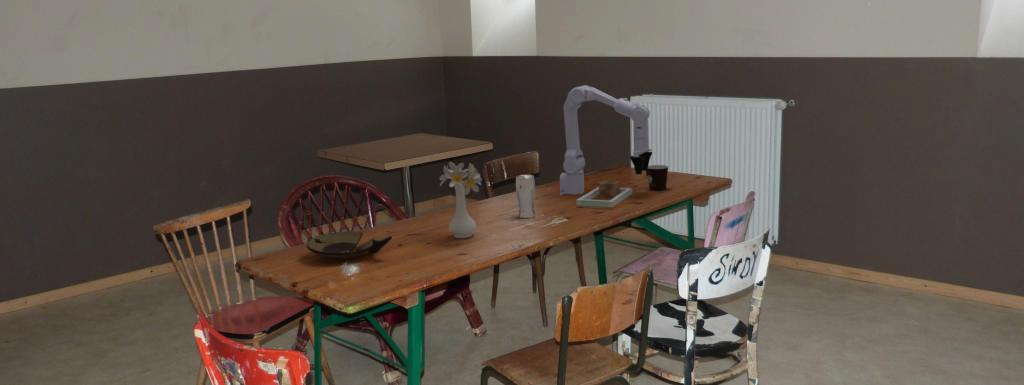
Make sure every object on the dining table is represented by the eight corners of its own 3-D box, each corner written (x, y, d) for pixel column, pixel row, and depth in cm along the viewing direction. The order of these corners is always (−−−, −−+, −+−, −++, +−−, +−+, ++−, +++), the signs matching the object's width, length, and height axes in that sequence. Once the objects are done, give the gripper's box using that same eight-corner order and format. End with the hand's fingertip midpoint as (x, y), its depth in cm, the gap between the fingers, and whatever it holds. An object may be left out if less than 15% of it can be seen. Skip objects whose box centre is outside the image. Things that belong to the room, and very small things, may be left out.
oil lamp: (351, 242, 288) (349, 220, 287) (405, 256, 267) (403, 233, 265) (293, 257, 273) (290, 234, 272) (345, 274, 252) (342, 249, 250)
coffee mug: (670, 193, 337) (669, 168, 335) (648, 194, 337) (648, 169, 335) (665, 187, 349) (665, 163, 347) (644, 188, 349) (644, 164, 347)
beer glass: (514, 218, 310) (512, 177, 306) (522, 213, 316) (520, 174, 312) (531, 219, 306) (529, 178, 303) (539, 214, 312) (537, 174, 309)
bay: (576, 207, 321) (576, 199, 320) (598, 194, 342) (598, 186, 342) (612, 209, 314) (612, 201, 314) (632, 195, 336) (632, 188, 335)
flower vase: (466, 244, 276) (461, 169, 271) (433, 235, 290) (428, 163, 285) (497, 236, 285) (493, 163, 279) (464, 228, 299) (459, 158, 293)
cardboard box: (598, 197, 332) (598, 183, 331) (603, 194, 337) (602, 180, 336) (616, 198, 329) (616, 184, 328) (620, 195, 334) (620, 181, 333)
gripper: (645, 140, 319) (646, 176, 321) (656, 135, 331) (656, 169, 334) (627, 140, 322) (628, 175, 324) (638, 134, 334) (639, 168, 337)
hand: (641, 172), depth 329 cm, fingers open, 7 cm apart
